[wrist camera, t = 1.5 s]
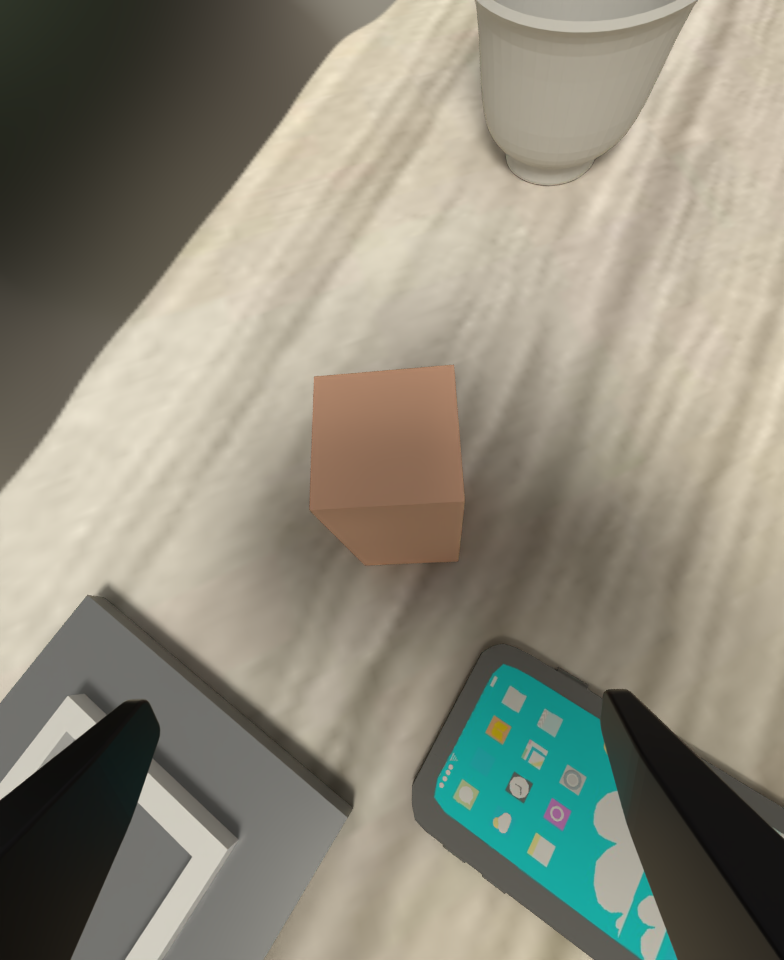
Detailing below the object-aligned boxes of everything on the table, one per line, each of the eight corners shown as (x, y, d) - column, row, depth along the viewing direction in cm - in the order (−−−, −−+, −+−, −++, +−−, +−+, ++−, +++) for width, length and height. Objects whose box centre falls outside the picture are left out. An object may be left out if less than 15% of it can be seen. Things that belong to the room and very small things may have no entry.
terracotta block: (451, 473, 24) (453, 365, 15) (458, 561, 23) (464, 501, 14) (364, 478, 25) (314, 376, 16) (365, 565, 23) (309, 510, 14)
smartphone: (793, 1120, 15) (396, 816, 19) (773, 1094, 16) (399, 809, 20) (869, 852, 17) (495, 628, 21) (847, 842, 18) (493, 629, 22)
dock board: (353, 808, 20) (342, 826, 18) (92, 1249, 16) (41, 1335, 14) (104, 597, 24) (72, 592, 22) (-145, 909, 21) (-210, 938, 19)
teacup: (691, 91, 32) (793, -144, 22) (600, 248, 28) (675, 50, 19) (525, 52, 35) (553, -166, 25) (425, 190, 31) (415, -5, 22)
